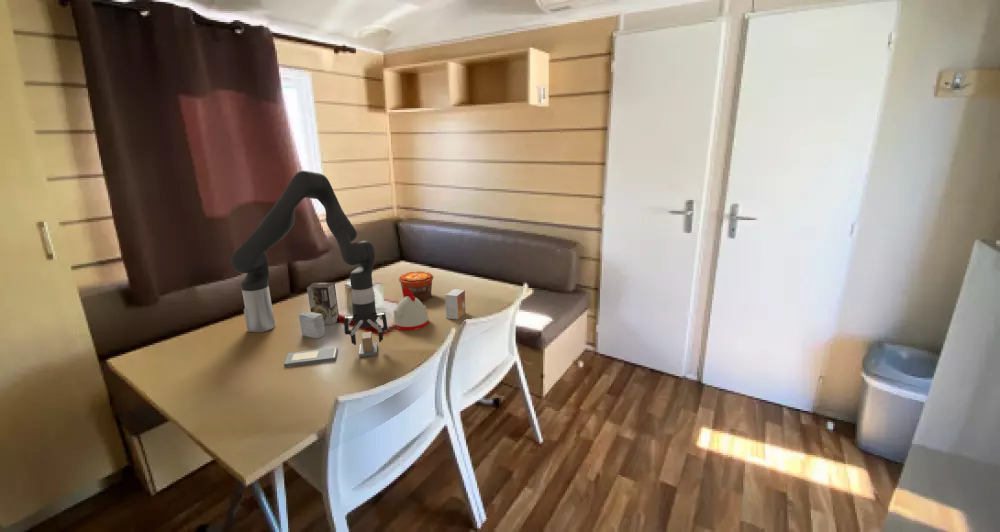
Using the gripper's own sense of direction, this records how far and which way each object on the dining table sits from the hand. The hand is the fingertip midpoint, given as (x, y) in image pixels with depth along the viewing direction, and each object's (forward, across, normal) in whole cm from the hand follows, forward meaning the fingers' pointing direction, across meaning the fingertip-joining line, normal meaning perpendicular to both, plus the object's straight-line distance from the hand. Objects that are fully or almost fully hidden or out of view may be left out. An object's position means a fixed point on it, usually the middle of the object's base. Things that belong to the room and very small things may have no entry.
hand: (367, 342), depth 155 cm
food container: (+4, +21, +52) cm, 56 cm away
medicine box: (+4, -21, +20) cm, 29 cm away
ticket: (+3, -19, 0) cm, 19 cm away
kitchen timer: (+4, +16, +21) cm, 27 cm away
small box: (+4, +35, +24) cm, 43 cm away
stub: (+3, 0, 0) cm, 3 cm away
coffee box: (+4, -18, +33) cm, 38 cm away
